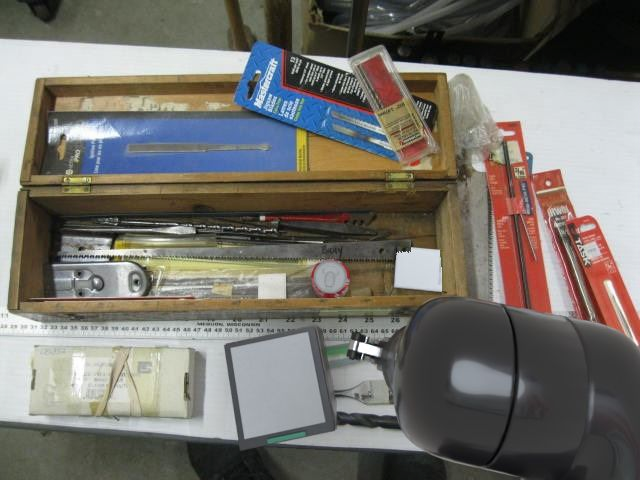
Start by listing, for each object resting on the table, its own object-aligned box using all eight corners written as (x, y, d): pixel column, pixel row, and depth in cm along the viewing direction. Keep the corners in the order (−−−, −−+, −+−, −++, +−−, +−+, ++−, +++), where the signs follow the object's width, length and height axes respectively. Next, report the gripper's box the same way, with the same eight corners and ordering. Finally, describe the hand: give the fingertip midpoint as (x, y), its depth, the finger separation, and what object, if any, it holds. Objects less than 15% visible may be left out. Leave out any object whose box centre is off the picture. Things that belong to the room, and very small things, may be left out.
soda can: (351, 269, 90) (353, 259, 78) (346, 305, 89) (347, 299, 77) (315, 264, 91) (312, 253, 79) (310, 300, 89) (306, 294, 77)
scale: (335, 427, 60) (335, 432, 58) (242, 447, 60) (238, 452, 58) (315, 326, 63) (314, 325, 61) (227, 344, 63) (222, 345, 61)
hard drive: (395, 247, 91) (458, 253, 90) (393, 287, 89) (456, 294, 88) (396, 245, 89) (460, 251, 89) (394, 286, 88) (459, 293, 87)
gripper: (334, 389, 36) (335, 374, 52) (517, 443, 34) (458, 410, 51) (358, 297, 37) (351, 311, 54) (533, 345, 36) (471, 344, 52)
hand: (403, 359), depth 52 cm, fingers closed on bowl, 5 cm apart
